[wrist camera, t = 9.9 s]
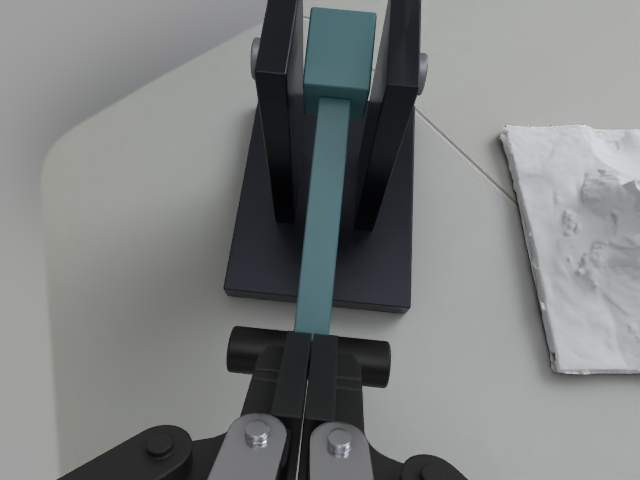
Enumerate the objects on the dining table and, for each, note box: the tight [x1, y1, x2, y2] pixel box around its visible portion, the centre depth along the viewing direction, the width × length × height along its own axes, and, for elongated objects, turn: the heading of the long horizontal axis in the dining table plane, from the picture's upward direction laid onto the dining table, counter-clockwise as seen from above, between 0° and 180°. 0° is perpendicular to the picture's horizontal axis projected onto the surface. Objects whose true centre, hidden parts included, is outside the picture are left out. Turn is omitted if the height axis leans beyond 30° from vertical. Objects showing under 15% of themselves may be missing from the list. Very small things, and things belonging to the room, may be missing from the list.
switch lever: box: [227, 7, 391, 388], centre depth 16 cm, size 12×5×2 cm, turn 175°
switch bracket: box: [224, 0, 428, 314], centre depth 20 cm, size 12×9×12 cm
